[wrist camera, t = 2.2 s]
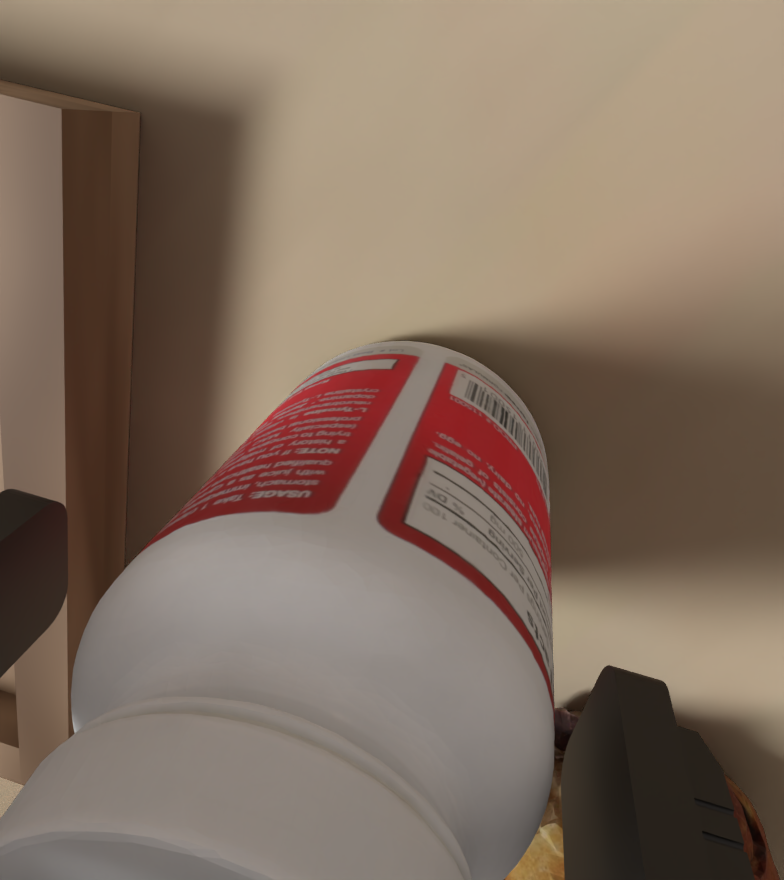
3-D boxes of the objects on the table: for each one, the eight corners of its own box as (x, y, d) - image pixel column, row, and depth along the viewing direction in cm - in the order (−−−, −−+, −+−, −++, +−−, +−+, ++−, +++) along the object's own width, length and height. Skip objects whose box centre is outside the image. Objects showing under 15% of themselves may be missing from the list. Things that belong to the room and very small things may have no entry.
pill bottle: (265, 530, 17) (-108, 1059, 7) (309, 298, 15) (-186, 642, 5) (502, 608, 17) (440, 1285, 7) (592, 382, 14) (701, 965, 4)
